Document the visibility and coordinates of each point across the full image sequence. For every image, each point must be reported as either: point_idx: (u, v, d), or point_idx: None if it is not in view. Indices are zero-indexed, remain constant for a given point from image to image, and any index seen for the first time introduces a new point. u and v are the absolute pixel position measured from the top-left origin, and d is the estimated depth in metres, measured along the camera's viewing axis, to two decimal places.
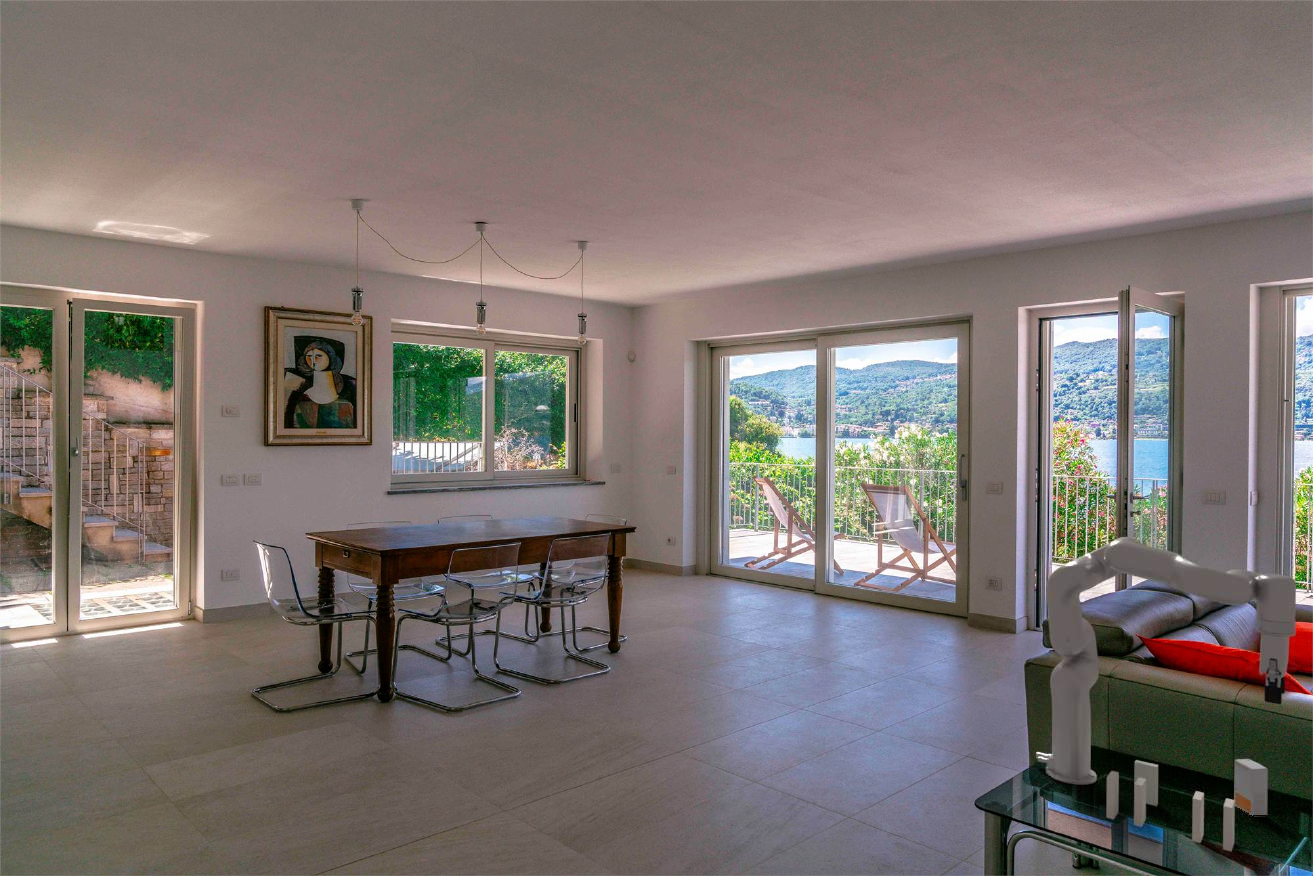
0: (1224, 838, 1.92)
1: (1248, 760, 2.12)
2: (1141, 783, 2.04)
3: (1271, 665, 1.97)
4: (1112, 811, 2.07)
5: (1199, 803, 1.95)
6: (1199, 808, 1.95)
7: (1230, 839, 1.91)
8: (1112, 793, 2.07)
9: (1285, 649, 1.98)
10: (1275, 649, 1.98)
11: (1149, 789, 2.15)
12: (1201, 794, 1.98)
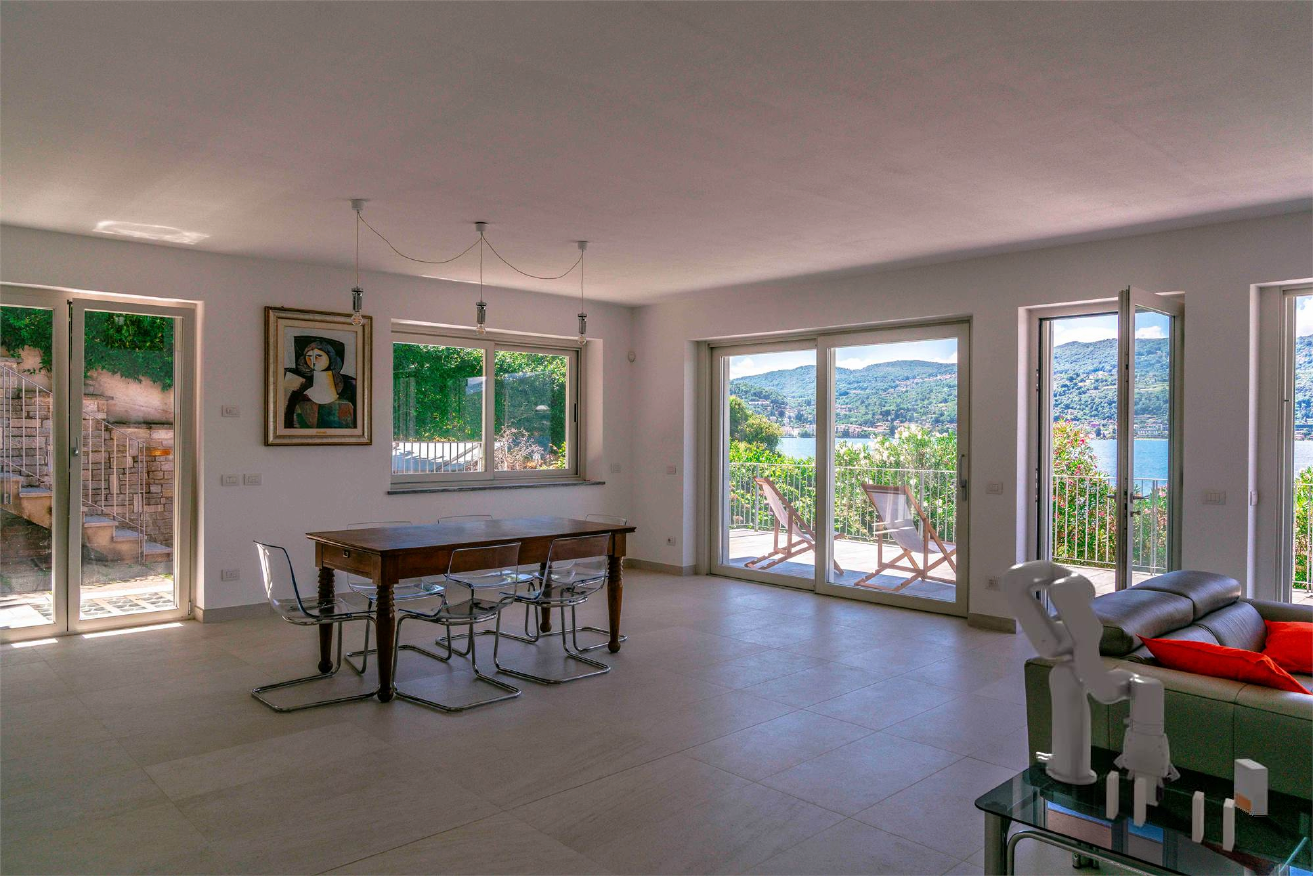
0: (1224, 838, 1.92)
1: (1248, 760, 2.12)
2: (1141, 783, 2.04)
3: (1173, 768, 2.11)
4: (1112, 811, 2.07)
5: (1199, 803, 1.95)
6: (1199, 808, 1.95)
7: (1230, 839, 1.91)
8: (1112, 793, 2.07)
9: None
10: (1168, 748, 2.13)
11: (1149, 789, 2.15)
12: (1201, 794, 1.98)
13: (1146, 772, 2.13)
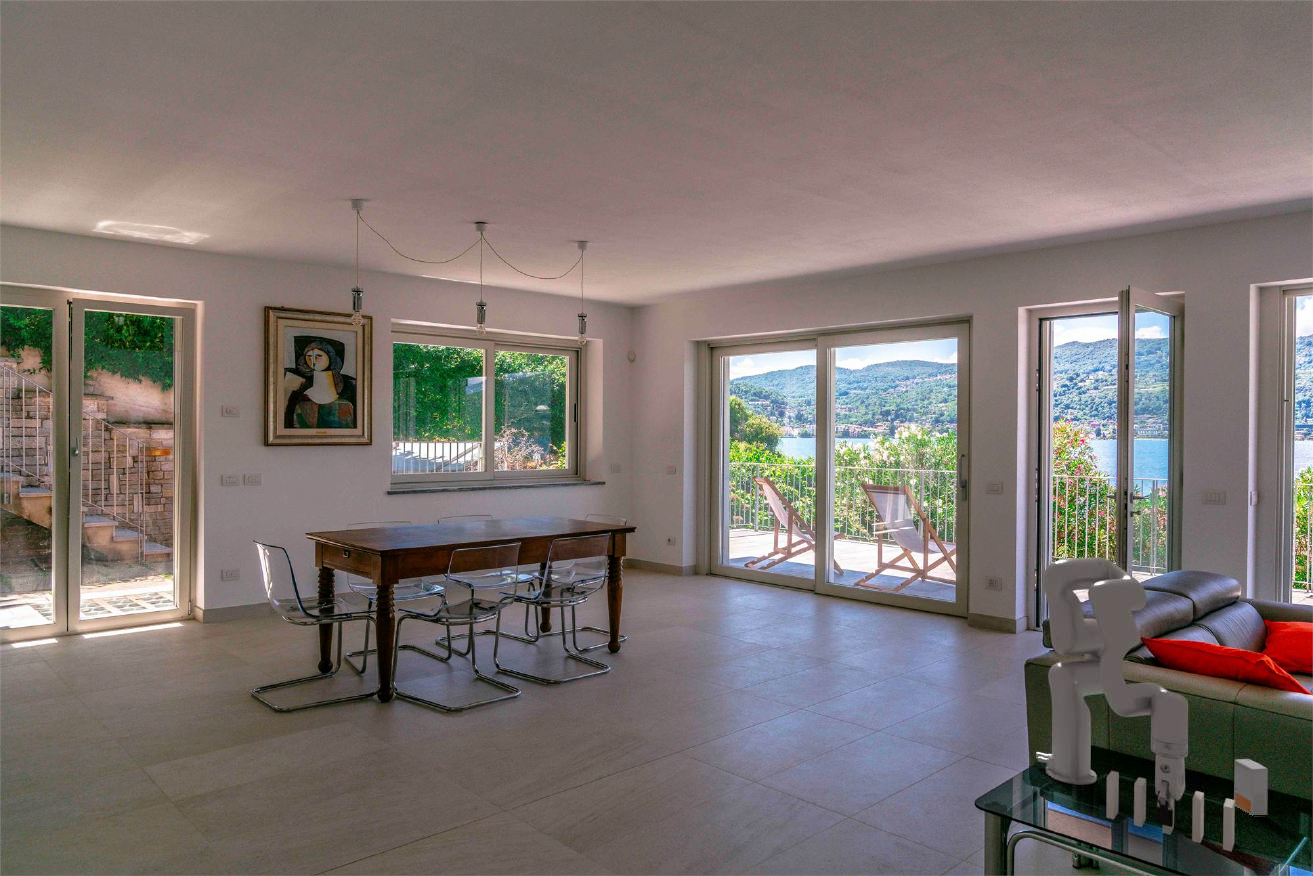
0: (1224, 838, 1.92)
1: (1248, 760, 2.12)
2: (1141, 783, 2.04)
3: None
4: (1112, 811, 2.07)
5: (1199, 803, 1.95)
6: (1199, 808, 1.95)
7: (1230, 839, 1.91)
8: (1112, 793, 2.07)
9: None
10: None
11: None
12: (1201, 794, 1.98)
13: (1182, 793, 2.00)
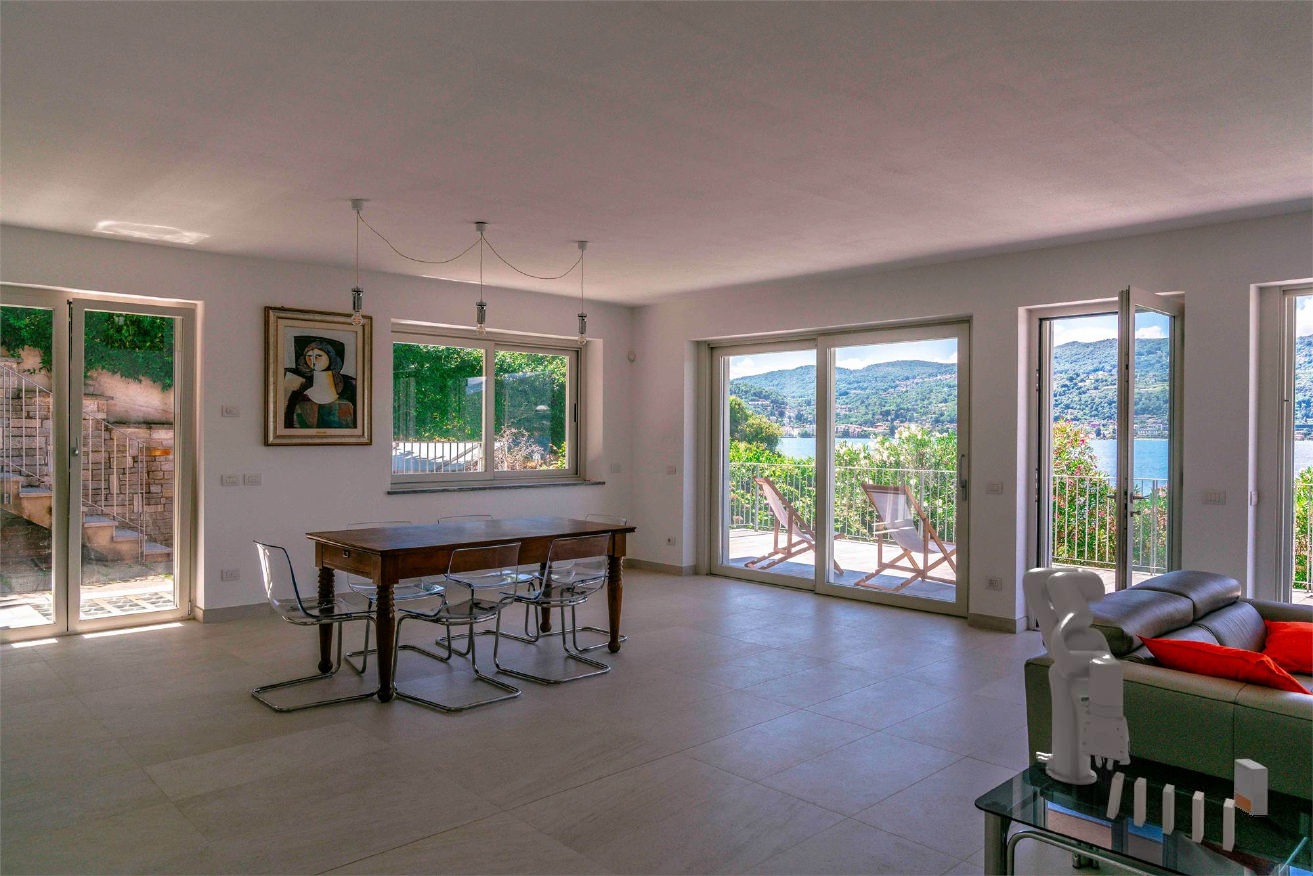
0: (1224, 838, 1.92)
1: (1248, 760, 2.12)
2: (1141, 783, 2.04)
3: (1127, 754, 2.06)
4: (1113, 811, 2.07)
5: (1199, 803, 1.95)
6: (1199, 808, 1.95)
7: (1230, 839, 1.91)
8: (1116, 794, 2.06)
9: None
10: (1127, 731, 2.07)
11: (1172, 813, 2.02)
12: (1201, 794, 1.98)
13: (1105, 756, 2.07)
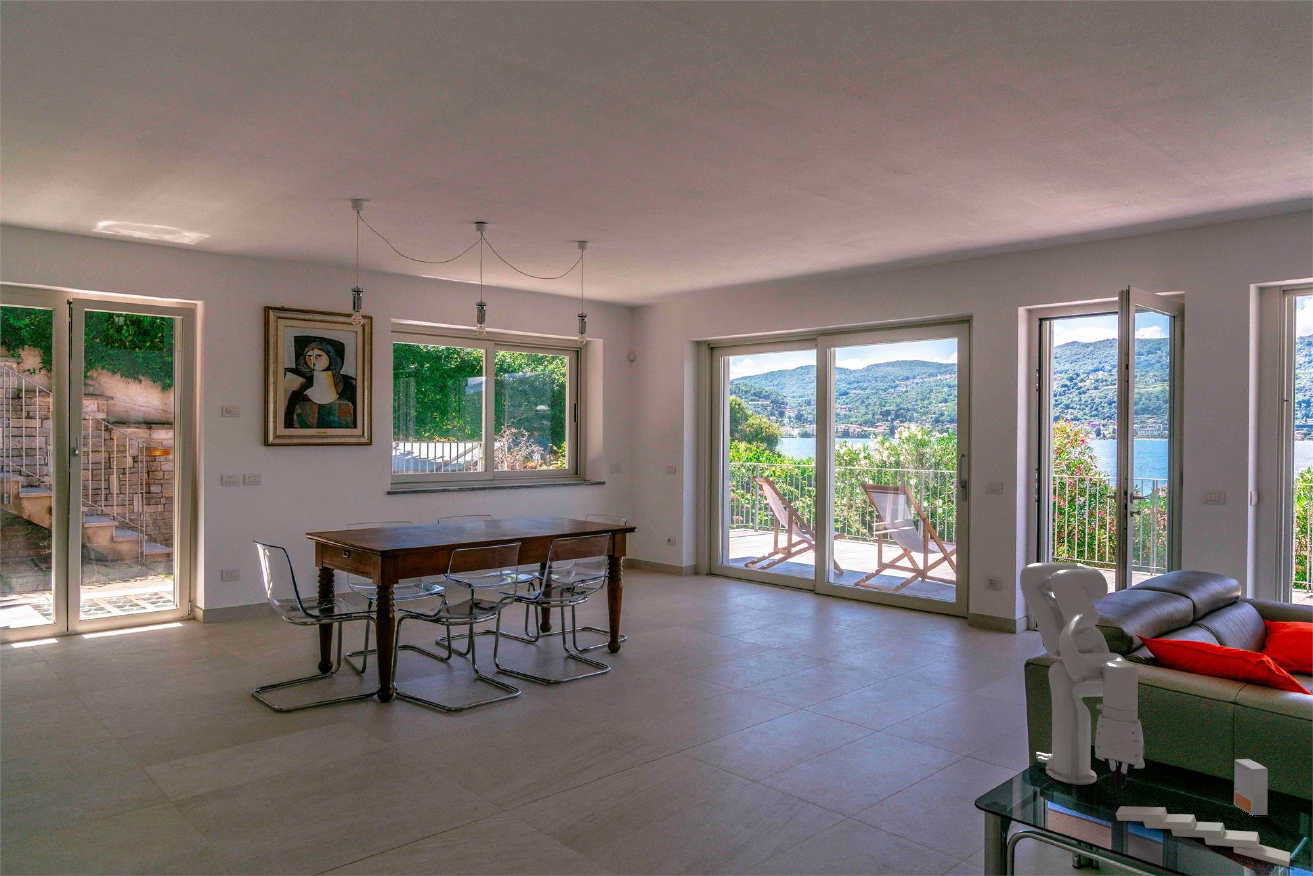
0: (1247, 851, 1.89)
1: (1248, 760, 2.12)
2: (1193, 825, 1.97)
3: (1142, 758, 2.04)
4: (1125, 819, 2.05)
5: (1253, 846, 1.89)
6: (1247, 846, 1.89)
7: None
8: (1145, 820, 2.02)
9: None
10: (1142, 734, 2.05)
11: None
12: (1258, 840, 1.91)
13: (1119, 760, 2.05)
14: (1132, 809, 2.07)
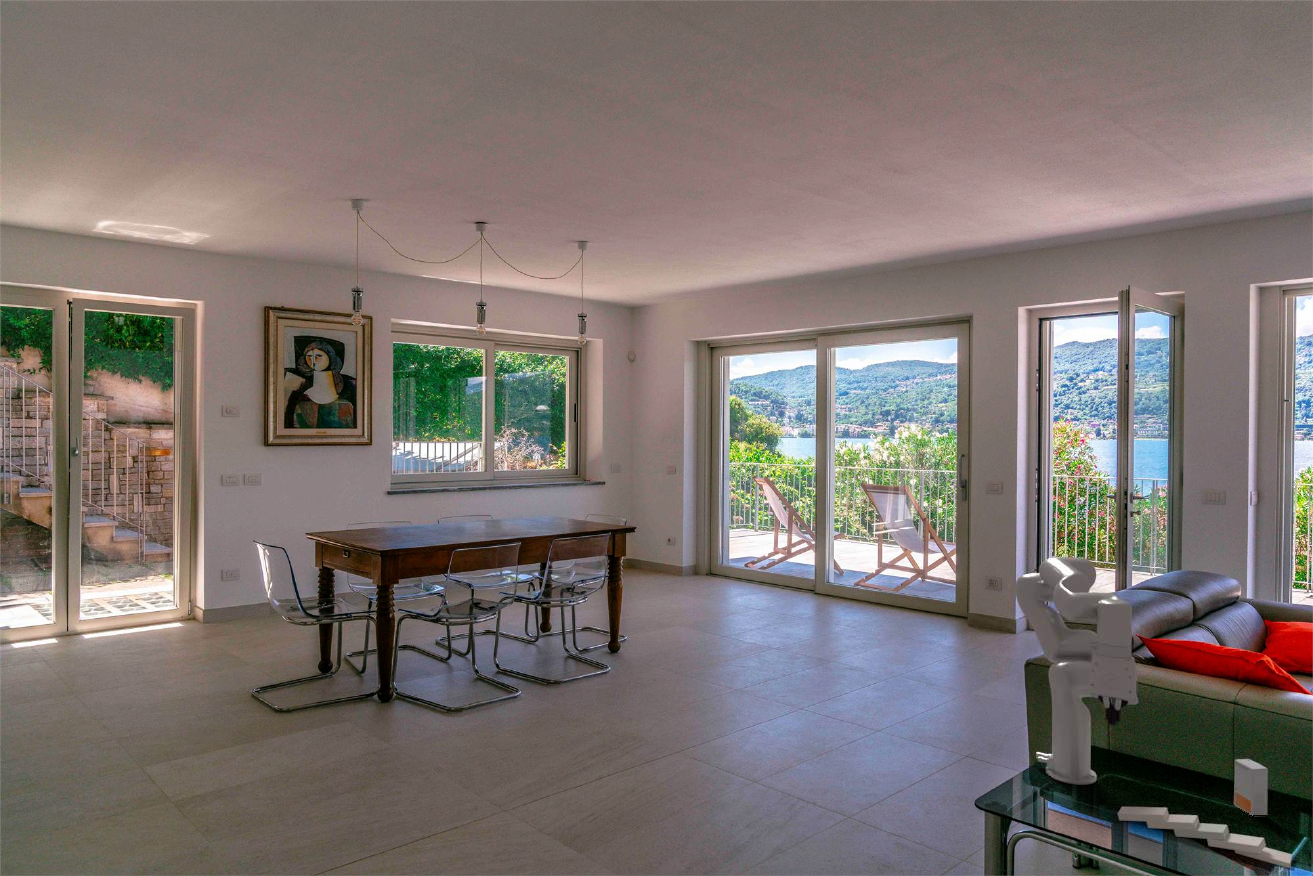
0: (1248, 853, 1.89)
1: (1248, 760, 2.12)
2: (1196, 826, 1.97)
3: (1135, 694, 2.05)
4: (1127, 819, 2.05)
5: (1255, 851, 1.87)
6: (1249, 850, 1.88)
7: None
8: (1147, 820, 2.02)
9: None
10: (1136, 671, 2.05)
11: None
12: (1263, 846, 1.89)
13: (1113, 696, 2.06)
14: (1134, 810, 2.06)
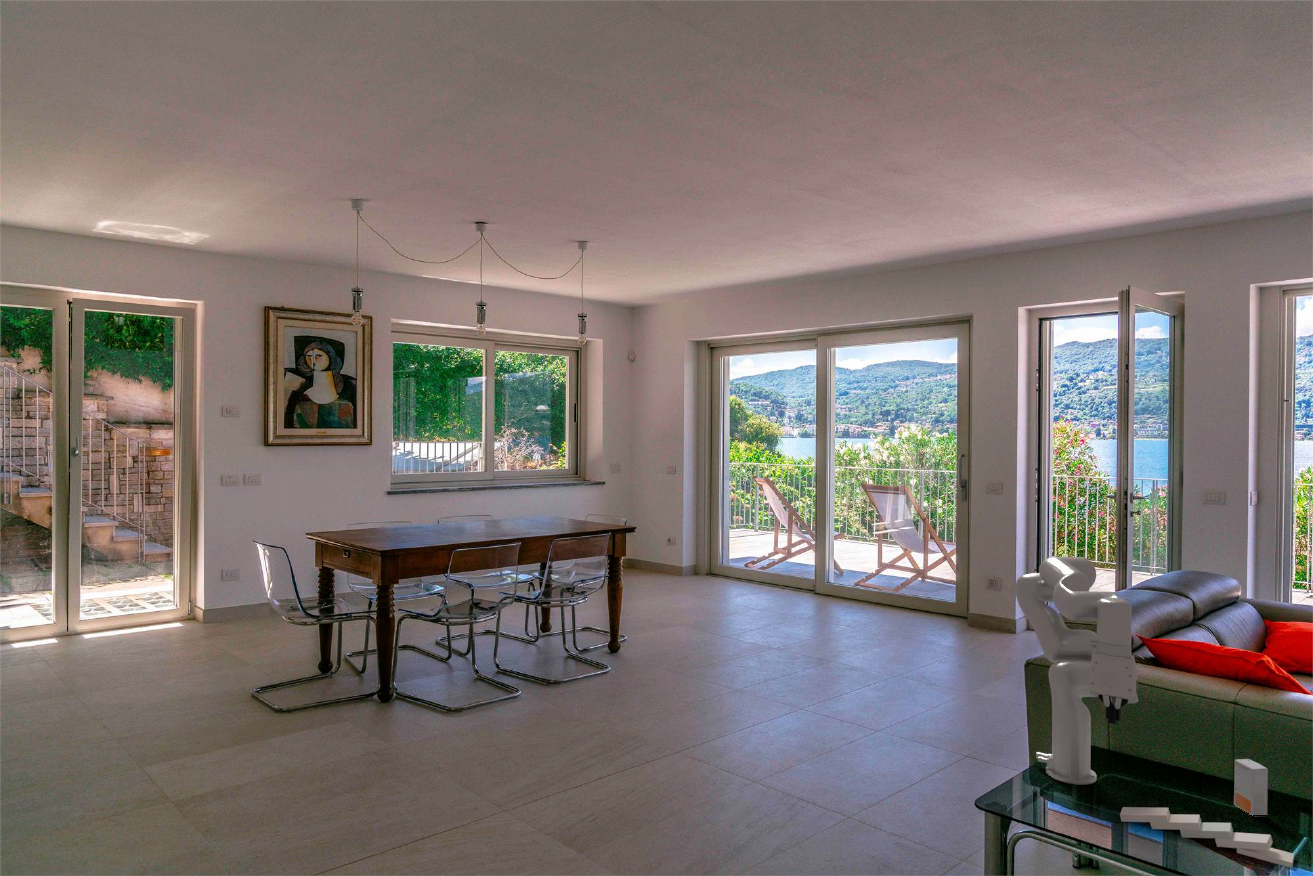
0: (1250, 852, 1.89)
1: (1248, 760, 2.12)
2: (1200, 826, 1.97)
3: (1135, 693, 2.05)
4: (1129, 820, 2.05)
5: (1264, 849, 1.87)
6: (1258, 848, 1.88)
7: None
8: (1150, 820, 2.02)
9: None
10: (1136, 670, 2.05)
11: None
12: (1271, 842, 1.89)
13: (1113, 695, 2.06)
14: (1135, 810, 2.06)
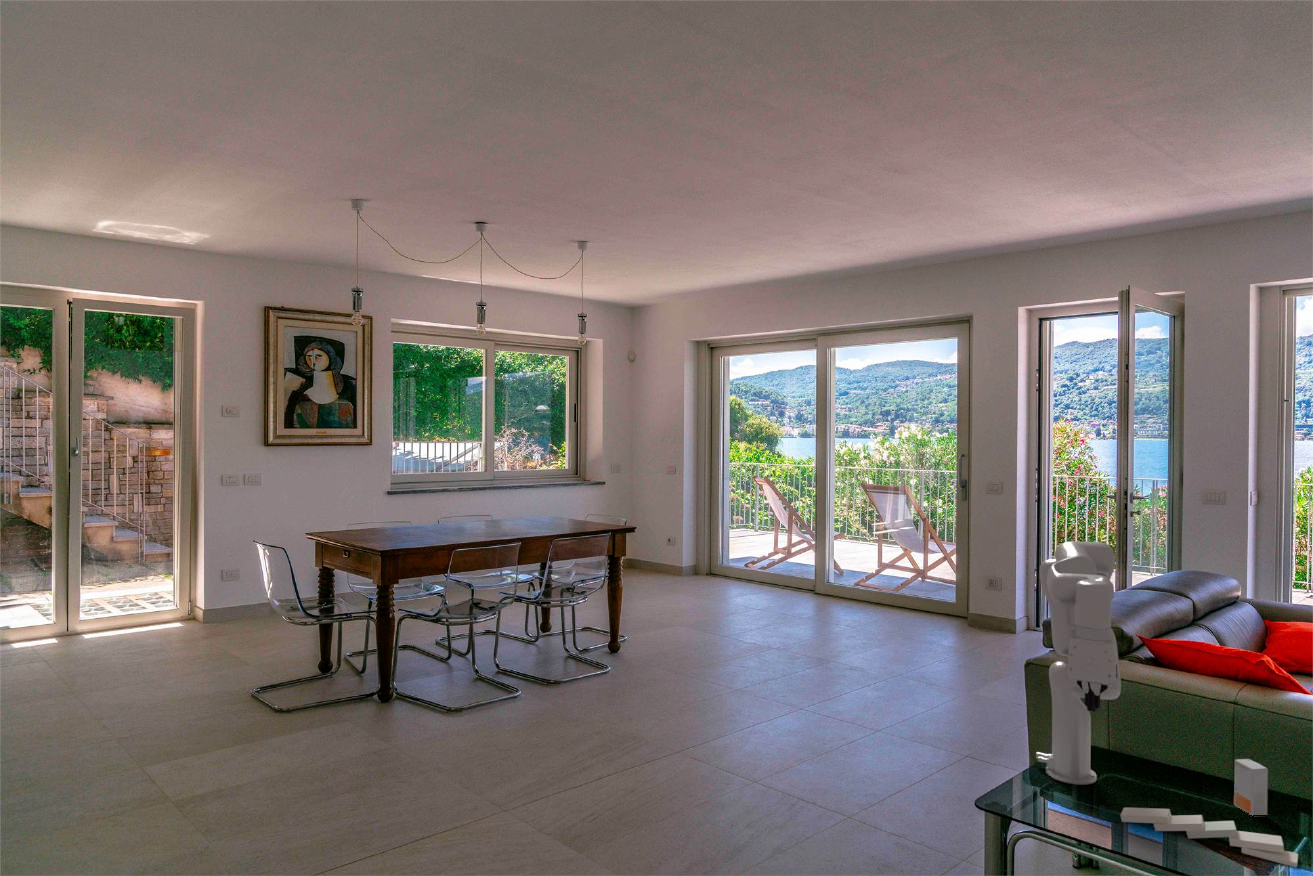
0: (1255, 853, 1.89)
1: (1248, 760, 2.12)
2: (1203, 826, 1.97)
3: (1115, 679, 1.97)
4: (1130, 821, 2.04)
5: (1279, 851, 1.88)
6: (1273, 850, 1.88)
7: None
8: (1150, 821, 2.02)
9: None
10: (1115, 654, 1.97)
11: None
12: None
13: (1092, 681, 1.98)
14: (1136, 811, 2.06)
